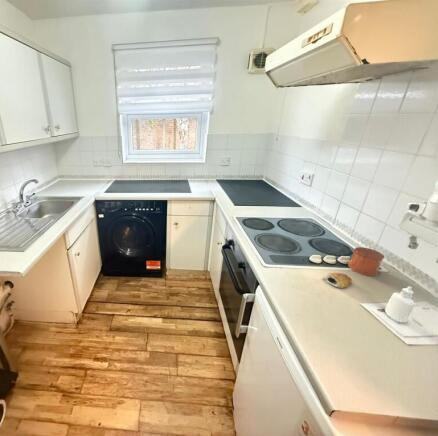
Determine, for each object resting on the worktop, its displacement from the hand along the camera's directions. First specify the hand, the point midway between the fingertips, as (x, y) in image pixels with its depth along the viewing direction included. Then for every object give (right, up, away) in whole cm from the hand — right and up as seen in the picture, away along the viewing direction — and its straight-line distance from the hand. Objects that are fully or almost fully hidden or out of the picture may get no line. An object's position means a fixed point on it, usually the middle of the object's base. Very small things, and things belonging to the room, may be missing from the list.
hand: (425, 255), depth 72 cm
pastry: (-10, -14, +21) cm, 27 cm away
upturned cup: (+8, -10, +30) cm, 32 cm away
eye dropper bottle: (-4, -21, +5) cm, 22 cm away
